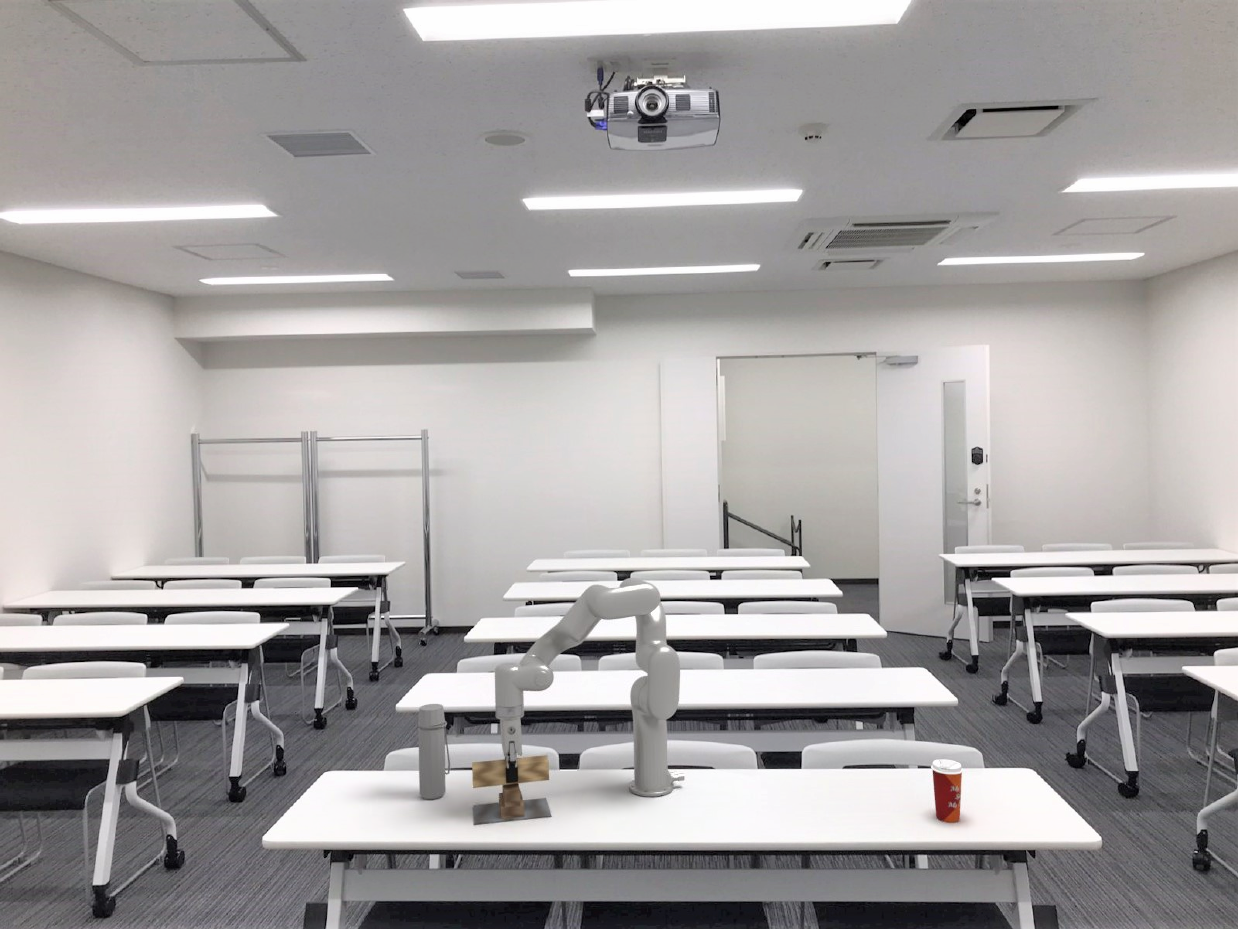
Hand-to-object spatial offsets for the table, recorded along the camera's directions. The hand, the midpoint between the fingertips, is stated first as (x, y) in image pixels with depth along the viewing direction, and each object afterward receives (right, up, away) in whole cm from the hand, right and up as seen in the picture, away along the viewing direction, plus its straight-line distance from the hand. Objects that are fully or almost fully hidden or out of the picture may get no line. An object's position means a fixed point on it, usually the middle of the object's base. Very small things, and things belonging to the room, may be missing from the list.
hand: (511, 777), depth 225 cm
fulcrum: (0, -9, 0) cm, 9 cm away
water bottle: (-23, -10, +13) cm, 28 cm away
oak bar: (0, -1, 0) cm, 1 cm away
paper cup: (+113, -7, -9) cm, 114 cm away
